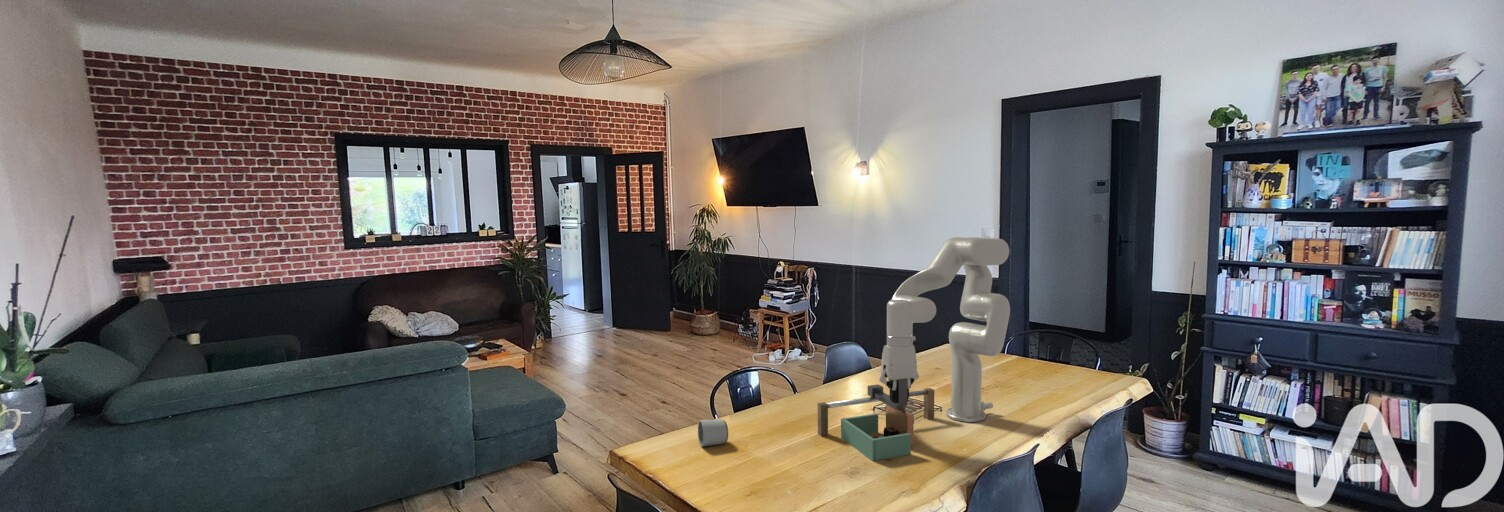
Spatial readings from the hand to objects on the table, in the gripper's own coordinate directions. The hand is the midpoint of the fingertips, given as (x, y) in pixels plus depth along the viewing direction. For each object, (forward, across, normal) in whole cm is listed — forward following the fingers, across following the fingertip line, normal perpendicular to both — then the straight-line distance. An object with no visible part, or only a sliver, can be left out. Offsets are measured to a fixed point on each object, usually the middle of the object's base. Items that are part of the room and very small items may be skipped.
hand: (899, 400), depth 193 cm
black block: (+13, +2, 0) cm, 14 cm away
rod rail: (+13, -1, -14) cm, 19 cm away
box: (+13, +8, 0) cm, 15 cm away
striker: (+11, 0, -5) cm, 12 cm away
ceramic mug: (+13, +53, -21) cm, 58 cm away
